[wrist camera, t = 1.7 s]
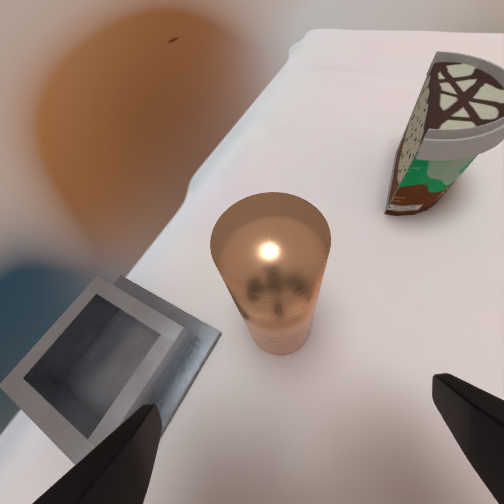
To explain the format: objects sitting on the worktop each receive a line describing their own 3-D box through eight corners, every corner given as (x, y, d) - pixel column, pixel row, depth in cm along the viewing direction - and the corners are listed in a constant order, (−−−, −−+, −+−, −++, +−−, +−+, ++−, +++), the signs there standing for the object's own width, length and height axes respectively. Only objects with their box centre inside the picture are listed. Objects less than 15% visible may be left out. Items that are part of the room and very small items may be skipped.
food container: (453, 240, 24) (543, 147, 15) (382, 225, 26) (428, 134, 17) (455, 154, 29) (523, 50, 21) (396, 146, 31) (437, 48, 23)
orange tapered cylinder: (294, 367, 20) (300, 315, 9) (239, 336, 22) (187, 261, 11) (318, 311, 22) (348, 212, 11) (266, 287, 24) (247, 180, 13)
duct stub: (124, 497, 17) (82, 519, 14) (24, 396, 21) (-28, 394, 18) (221, 333, 22) (208, 319, 18) (123, 277, 26) (98, 257, 23)
